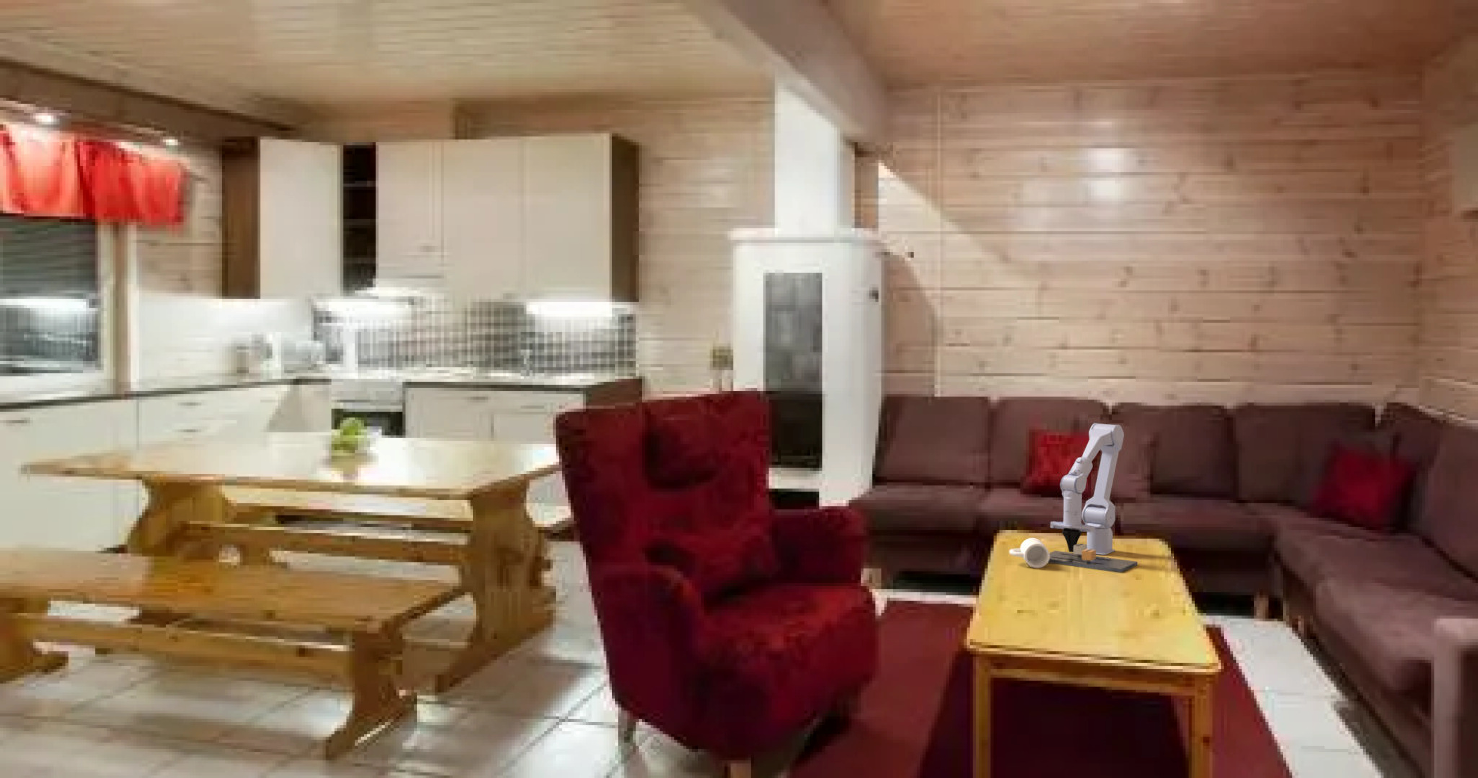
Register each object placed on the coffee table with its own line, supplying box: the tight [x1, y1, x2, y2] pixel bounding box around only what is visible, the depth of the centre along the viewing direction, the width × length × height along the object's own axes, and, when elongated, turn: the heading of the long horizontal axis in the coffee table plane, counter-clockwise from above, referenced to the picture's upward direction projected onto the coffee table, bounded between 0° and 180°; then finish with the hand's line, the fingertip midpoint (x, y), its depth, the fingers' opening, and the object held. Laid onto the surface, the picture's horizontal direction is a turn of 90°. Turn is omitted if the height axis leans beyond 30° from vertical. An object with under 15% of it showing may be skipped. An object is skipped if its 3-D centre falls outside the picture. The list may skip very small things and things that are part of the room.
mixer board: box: [1047, 550, 1138, 574], centre depth 372 cm, size 14×28×1 cm, turn 51°
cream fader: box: [1072, 542, 1087, 556], centre depth 377 cm, size 4×3×4 cm
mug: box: [1008, 537, 1051, 569], centre depth 370 cm, size 12×10×8 cm
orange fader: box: [1082, 549, 1097, 562], centre depth 368 cm, size 4×3×4 cm
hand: (1071, 551), depth 379 cm, fingers closed
